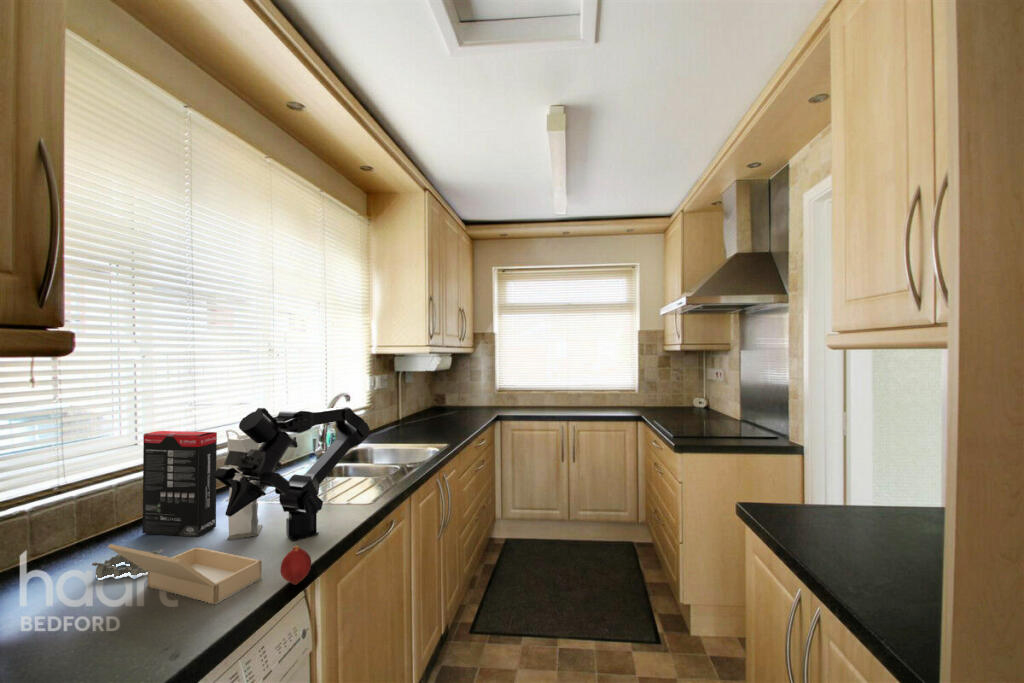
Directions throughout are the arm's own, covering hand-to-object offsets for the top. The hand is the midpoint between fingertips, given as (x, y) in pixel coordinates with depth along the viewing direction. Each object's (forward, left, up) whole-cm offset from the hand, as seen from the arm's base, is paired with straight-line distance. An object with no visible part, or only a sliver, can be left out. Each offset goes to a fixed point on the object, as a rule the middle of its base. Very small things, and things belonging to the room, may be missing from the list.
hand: (227, 515), depth 96 cm
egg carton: (+17, -15, -13) cm, 26 cm away
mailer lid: (+11, +7, -5) cm, 14 cm away
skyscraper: (-6, -23, -13) cm, 27 cm away
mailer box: (+4, +3, -12) cm, 13 cm away
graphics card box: (+7, -34, -13) cm, 37 cm away
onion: (-10, +16, -13) cm, 22 cm away
